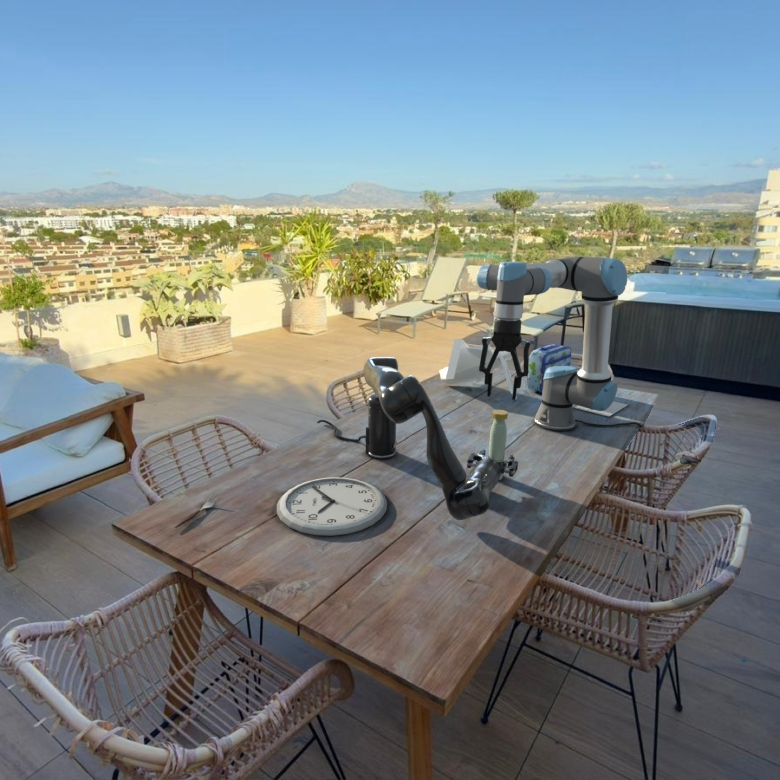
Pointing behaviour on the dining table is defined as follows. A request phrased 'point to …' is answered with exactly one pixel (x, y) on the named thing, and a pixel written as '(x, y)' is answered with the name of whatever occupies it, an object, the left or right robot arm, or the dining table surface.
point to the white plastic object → (475, 365)
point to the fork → (206, 505)
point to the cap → (500, 414)
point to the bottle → (497, 441)
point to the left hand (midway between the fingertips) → (497, 455)
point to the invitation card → (609, 411)
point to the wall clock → (331, 506)
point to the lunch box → (546, 363)
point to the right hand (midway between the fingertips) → (501, 396)
